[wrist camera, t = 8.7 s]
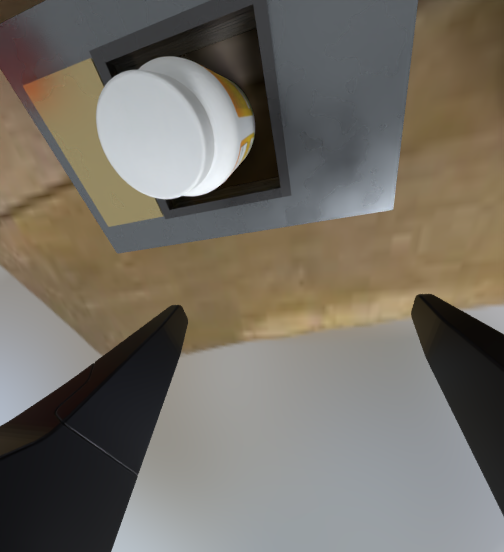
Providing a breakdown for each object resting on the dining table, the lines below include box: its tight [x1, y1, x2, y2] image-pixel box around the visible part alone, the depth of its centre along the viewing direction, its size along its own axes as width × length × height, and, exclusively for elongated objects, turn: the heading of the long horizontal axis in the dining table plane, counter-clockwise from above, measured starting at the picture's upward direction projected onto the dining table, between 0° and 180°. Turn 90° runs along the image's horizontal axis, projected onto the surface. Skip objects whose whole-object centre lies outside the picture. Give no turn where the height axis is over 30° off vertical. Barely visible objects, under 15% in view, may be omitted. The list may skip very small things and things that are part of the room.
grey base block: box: [0, 0, 418, 253], centre depth 15 cm, size 22×14×3 cm, turn 103°
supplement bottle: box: [96, 56, 255, 199], centre depth 12 cm, size 5×5×10 cm
